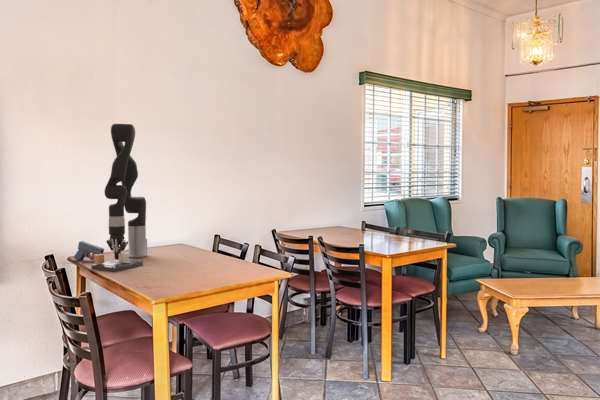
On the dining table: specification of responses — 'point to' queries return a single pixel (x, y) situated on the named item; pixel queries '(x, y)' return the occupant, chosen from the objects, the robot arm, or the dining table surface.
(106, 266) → the console
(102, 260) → the fader orange
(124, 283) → the dining table surface
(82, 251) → the toy
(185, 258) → the dining table surface
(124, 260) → the fader white
